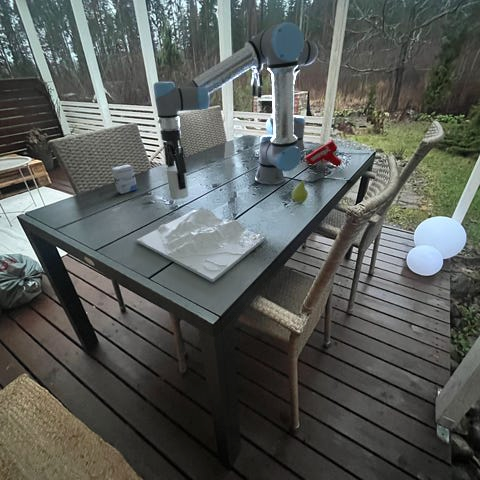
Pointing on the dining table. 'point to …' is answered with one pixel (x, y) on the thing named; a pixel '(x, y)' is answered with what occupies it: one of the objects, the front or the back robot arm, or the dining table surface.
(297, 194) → the fruit
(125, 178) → the ink box
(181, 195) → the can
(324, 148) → the toy gun
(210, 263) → the relief map
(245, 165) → the dining table surface
